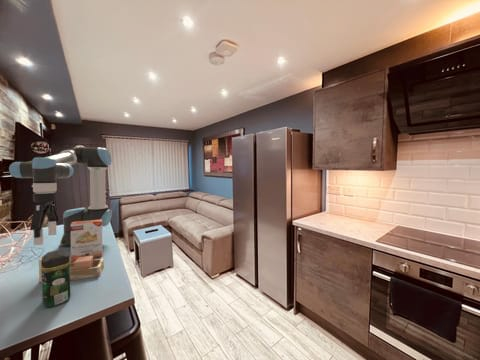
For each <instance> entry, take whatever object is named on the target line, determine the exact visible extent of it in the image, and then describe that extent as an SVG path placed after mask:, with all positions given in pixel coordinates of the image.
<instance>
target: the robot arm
mask: <svg viewBox="0 0 480 360" xmlns="http://www.w3.org/2000/svg"><path fill="white" fill-rule="evenodd" d="M112 160H113V159H112V155H111V152H110V151H109V149H107V148H105V147H92V146H91V147H88V146H86V147H85V146H79V147H77V146H76V147H73V148H68V149H64V150H61V151H60V152H59V153H56V154H53V155H49V156H45V157H33V159H32V160H30V161H15V162H12V163H11V164H10V165H9V167H8V170H9V171H8V172H9V174H10V176H12V177H14V178H16V179H17V178H18V179H32V184H31V188H32V192H33V193H32V201H33V202H34V203H38V205H33V213H32V218H31V222H30V227H29V230H30V231H33V233H32V234H33V246H39V245H44V228H43V225H44V221H45V218H46V217H47V220H48V222H47V225H48V227H47V229H48V236H56V235H57V222H58V221H60V219H59V215H58V211H57V206H56V201H57V199H58V197H57V196H58V195H57V191H58V188H57V179H67V178H70V177H72V176H73V175H74V171H75V170H74V168H73V166H74V165H83V166H85V165H86V168H88V170H89V200H90V202H89V203H90V205H89V206H88V207H87V208H86V207H77V208H72V209H67V210H65V211H64V212H63V217H62V219H63V235H62V237H61V240H60V241H59V243H60V245H59V246H60V247H64V248H68V247H69V248H71V223H72V222H78V221H89V220H100V219H102V228H103V227H107V226H108V225H109V224H110V223H111V220H112V216H113V211H112V210H111V209H109V206H108V205H107V204H106V202H107V201H106V200H107V199H106V198H107V197H106V193H107V192H106V184H107V183H106V170H107V169H109V166H110V165H111V164H112V162H113V161H112Z"/></svg>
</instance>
